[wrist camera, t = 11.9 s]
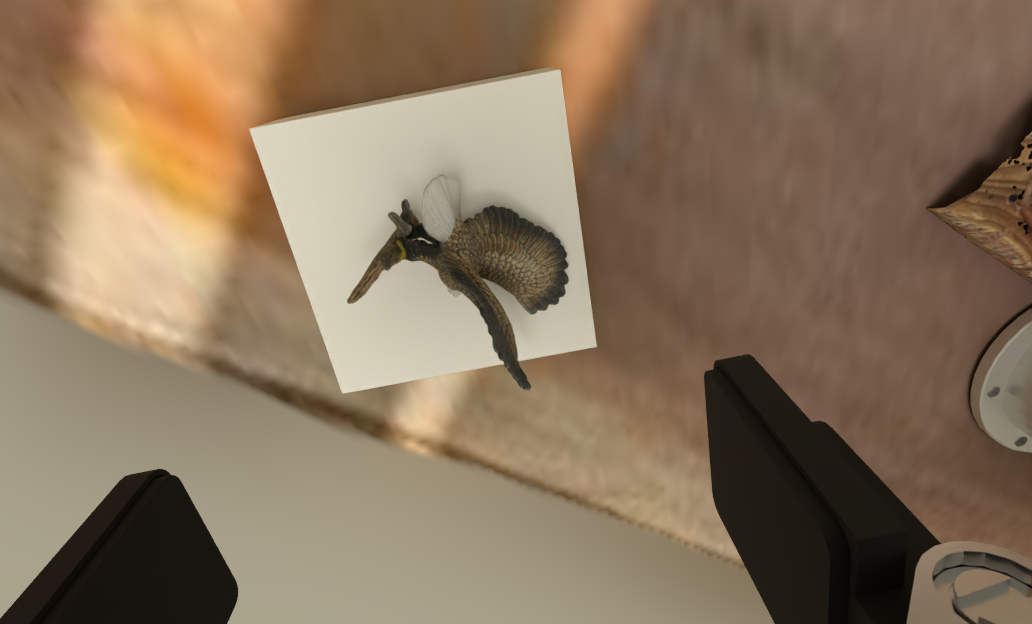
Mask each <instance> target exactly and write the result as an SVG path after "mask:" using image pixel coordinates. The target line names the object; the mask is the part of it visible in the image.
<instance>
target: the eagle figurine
mask: <svg viewBox="0 0 1032 624" xmlns="http://www.w3.org/2000/svg"><path fill="white" fill-rule="evenodd" d="M460 195H461V187H460V184H459V182H457V180H455V179H453V178H450V177H446V176H445V175H439V176H438V177H437V178H433V179H432V180H431V181H430V183H429V184H428V185H427V186H426V187H425V189H424V192H423V199H422V208H421V217H422V223H419V221H418V219H417V218H416V216H415V215H414V214H413V213H412V210H410V204H409V202H408V200H407V199H404V200H403V201H402V203H401V208H402V213H401V215H400V216H399V215H398V214H396V213H395V212H390V213H388V217H389V218H390V220H391V221H392V222H393V223H394V224H395V225H396V227H397V228H396V230H395V231H394V232H393V234H392V235H391V236H390V238H389V239H388V241H387V242H386V244H385V245H384V246H383V247H382V249H381V250H380V251H379V252H378V253H377V255H376V256H375V258H374V259H373V260H372V262H371V264H370V265H369V267H368V268H367V270H366V272H365V274H364V275H363V277H362V278H361V280H360V281H359V283H358V284H357V286H356V287H355V288H354V290H353V291H352V293H351V295H350V296H349V298H348V300H347V303H348V304H353V303H355V302H357V301H358V300H359V299H360V298H361V297H363V296H364V295H365V294H366V293H367V291H368V290H369V288H370V287H371V286H372V284H373V283H374V282H375V281H376V280H377V279H378V278H379V275H380V274H381V272H382V271H383V270H387V271H388V270H390V269H391V267H392V266H393V265H395V264H397V263H399V262H400V261H402V260H408V261H412V262H414V261H423V262H425V263H427V264H429V265H431V266H432V267H434V268H435V269H436V270H438V274H439V277H440V279H441V281H442V282H443V283H444V284H445V285H446V287H447V289H448V292H449V293H451V294H452V295H453V296H455V297H458V296H460V295H461V294H462V293H463V294H464V295H465V296H466V297H467V298H468V299H469V300H471V302H472V303H473V304H474V305H475V306H476V307H477V308H478V309H479V311H480V315H481V316H482V317H483V319H484V321H485V323H486V324H487V326H488V333H489V334H490V335H491V337H492V340H493V341H492V344H493V349H494V351H495V352H496V353H497V355H498V358H499V359H500V360H501V361H503V362H504V365H505V367H507V369H508V371H509V372H510V373H511V375H512V376H513V378H514V379H515V380H516V382H517V383H518V385H519V386H520V387H522V388H523V389H524V390H528V391H530V388H531V385H530V384H529V382H528V381H527V377H526V375H525V373H524V372H523V371H522V369H521V368H520V366H519V363H518V352H517V346H516V341H515V335H514V332H513V328H512V325H511V323H510V321H509V319H508V316H507V315H506V313H505V311H504V308H503V307H502V305H501V304H500V302H499V300H498V299H497V298H496V296H495V295H494V294H493V292H492V291H491V289H490V288H489V287H488V285H487V284H486V283H485V282H484V281H483V279H485V280H488V281H490V282H493V283H496V284H497V285H499V286H500V287H502V288H503V289H505V290H506V291H507V292H509V293H511V294H512V295H514V296H515V298H516V299H517V301H518V302H519V303H520V304H521V305H522V306H523V308H524V309H525V310H526V311H527V312H529V314H532V315H533V314H536V313H537V311H538V310H539V311H545V310H547V308H548V306H549V305H557V304H558V303H559V298H560V297H563V296H564V295H565V293H566V290H565V285H566V284H568V282H569V277H568V275H567V273H566V272H565V271H564V270H565V269H567V268H568V265H569V264H568V263H567V261H566V260H565V258H567V252H566V251H565V248H564V246H563V245H561V241H560V239H559V238H556V237H555V235H554V233H552V232H547V230H545V229H543V228H542V227H541V226H534V223H532V222H529V221H528V220H527V219H525V218H520V216H519V214H518V213H516V212H514V211H513V210H512V209H510V208H508V209H507V208H505V207H496V206H494V205H491V206H490V207H485V208H483V211H482V213H477V214H475V216H474V219H473V218H467V219H466V220H465V221H464V222H463V221H462V220H461V213H460ZM418 238H423V239H425V240H427V241H429V242H431V243H433V244H430V243H427V242H426V241H424V240H418ZM414 239H416V240H414Z"/></svg>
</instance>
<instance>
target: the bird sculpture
mask: <svg viewBox="0 0 1032 624" xmlns="http://www.w3.org/2000/svg"><path fill="white" fill-rule="evenodd" d="M1030 135H1032V132H1031V133H1030V134H1029V135H1027V136H1026V138H1025V139H1024V141H1023V142H1020V143H1021V144H1022V146H1025V148H1024V150H1023V151H1022V152H1021V155H1020V157H1019V158H1018V159H1013V160H1012V162H1011V164H1008V161H1009V159H1006V162H1005V161H1004V162H1003V163H1002V164H1001V165H1000V166H999V167H998V170H996V171H994V173H992V174H991V176H989V177H988V178H987V179H986V180H985V181H984V182H983V184H982V186H981V187H980V188H979V189H978V190H976V191H974V192H972V193H971V194H969V195H967V196H965V197H963V198H961V199H960V200H958V201H956V202H954V203H952V204H950V205H948V206H947V207H945V208H927V209H928V210H930V211H932V213H936V214H937V216H938V217H940V218H942V219H941V220H942V221H945V222H947V223H949V224H950V226H953V227H954V229H955V230H957V231H958V232H959V233H961V234H963V235H964V236H967V237H966V238H969V240H971V242H974V244H977V245H978V246H979V247H980V248H982V249H984V250H985V252H988V253H990V254H991V256H993V257H994V258H996V259H999V260H1000V261H1001V263H1004V264H1005V265H1007V266H1008V267H1012V269H1013V270H1015V271H1016V272H1017V273H1020V275H1022V276H1023V277H1024V278H1026V279H1028V280H1029V281H1031V282H1032V168H1031V170H1029V171H1027V169H1025V168H1026V167H1027V166H1032V165H1030V163H1032V159H1028V157H1029V154H1031V153H1030V152H1031V151H1032V147H1031V148H1027V145H1028V144H1032V137H1030ZM1010 159H1011V157H1010ZM1014 160H1016V161H1020V162H1019V164H1014ZM1024 162H1025V164H1024V165H1023V164H1022V163H1024ZM1014 185H1015V186H1016V189H1014V188H1013V186H1014ZM987 190H988V191H987ZM1023 190H1025V192H1024V194H1023V195H1022V196H1023V198H1022V199H1021V200H1019V199H1018V198H1017V197H1018V195H1020V194H1022V192H1023ZM986 191H987V192H986ZM985 192H986V193H985ZM990 196H991V197H990ZM988 197H989V198H988ZM1018 222H1023V224H1021V225H1018ZM1026 224H1028V228H1027V231H1029V233H1027V234H1025V233H1026V232H1027V231H1025V229H1023V226H1024V225H1026Z"/></svg>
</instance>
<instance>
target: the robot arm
mask: <svg viewBox="0 0 1032 624" xmlns="http://www.w3.org/2000/svg"><path fill="white" fill-rule="evenodd" d="M704 383H705V397H706V411H707V425H708V438H709V452H710V466H711V480H712V493H713V498H714V502H715V506H716V509H717V511H718V514H719V516H720V518H721V520H722V522H723V524H724V526H725V527H726V529H727V531H728V533H729V535H730V537H731V539H732V541H733V543H734V545H735V547H736V549H737V551H738V553H739V555H740V557H741V559H742V561H743V563H744V565H745V566H746V568H747V570H748V572H749V574H750V576H751V578H752V580H753V582H754V584H755V586H756V588H757V590H758V592H759V594H760V596H761V597H762V600H763V602H764V603H765V605H766V607H767V609H768V611H769V613H770V615H771V617H772V619H773V621H774V623H775V624H1032V559H1030V558H1028V557H1026V556H1024V555H1022V554H1019V553H1017V552H1014V551H1011V550H1008V549H1006V548H1003V547H1000V546H997V545H991V544H986V543H981V542H976V541H951V542H947V543H943V544H941V543H940V542H939V541H938V540H937V539H936V538H935V537H934V536H933V535H932V534H931V533H930V532H929V531H928V529H927V528H926V527H925V526H924V525H923V524H922V523H921V522H920V521H919V520H918V519H917V518H916V517H915V516H914V515H913V514H912V512H911V511H910V510H909V509H908V508H907V507H906V506H905V505H904V504H903V503H902V502H901V501H900V500H899V499H898V498H897V497H896V495H895V494H894V493H893V492H892V491H891V490H890V489H889V488H888V487H887V486H886V485H885V484H884V483H883V482H882V481H881V480H880V478H879V477H878V476H877V475H876V474H875V473H874V472H873V471H872V470H871V469H870V468H869V467H868V466H867V465H866V464H865V462H864V461H863V460H862V459H861V458H860V457H859V456H858V455H857V454H856V453H855V452H854V451H853V450H852V449H851V448H850V447H849V445H848V444H847V443H846V442H845V441H844V440H843V439H842V438H841V437H840V436H839V435H838V434H837V433H836V432H835V431H834V430H833V428H831V427H830V426H829V425H828V424H827V423H825V422H822V421H815V422H811V421H810V420H809V419H808V417H807V416H806V415H805V414H804V413H803V412H802V411H801V410H800V409H799V407H798V406H797V405H796V404H795V403H794V402H793V401H792V400H791V399H790V397H789V396H788V395H787V394H786V393H785V392H784V391H783V390H782V389H781V387H780V386H779V385H778V384H777V383H776V382H775V381H774V380H773V378H772V377H771V376H770V375H769V374H768V373H767V372H766V371H765V370H764V368H763V367H762V366H761V365H760V364H759V363H758V362H757V361H756V360H755V358H754V357H752V356H751V355H748V354H747V355H742V356H737V357H731V358H726V359H721V360H716V361H715V363H714V370H709V371H706V372H705V374H704ZM971 408H972V412H973V416H974V418H975V420H976V422H977V423H978V425H979V427H980V428H981V429H982V430H983V431H984V432H985V433H986V434H987V435H988V436H990V437H991V438H993V439H994V440H996V441H997V442H999V443H1000V444H1001V445H1003V446H1005V447H1007V448H1010V449H1012V450H1016V451H1022V452H1029V453H1032V308H1031V309H1029V310H1028V311H1026V312H1025V313H1023V314H1022V315H1020V316H1019V317H1018V318H1017V319H1016V320H1014V321H1013V322H1012V323H1011V324H1010V325H1009V326H1008V327H1006V328H1005V329H1004V330H1003V331H1002V333H1001V334H1000V335H999V336H998V337H997V338H996V339H995V341H994V342H993V343H992V344H991V345H990V347H989V348H988V350H987V352H986V353H985V355H984V356H983V358H982V359H981V361H980V364H979V366H978V368H977V370H976V373H975V375H974V379H973V383H972V387H971ZM237 597H238V587H237V583H236V580H235V578H234V577H233V575H232V573H231V571H230V569H229V567H228V566H227V564H226V562H225V560H224V558H223V557H222V555H221V553H220V551H219V549H218V547H217V546H216V544H215V542H214V540H213V538H212V537H211V535H210V533H209V531H208V530H207V528H206V526H205V524H204V522H203V520H202V518H201V517H200V515H199V513H198V511H197V509H196V508H195V506H194V504H193V502H192V500H191V499H190V497H189V495H188V493H187V491H186V489H185V488H184V486H183V484H182V482H181V481H180V479H179V478H178V477H176V476H174V475H170V474H169V472H167V471H166V470H163V469H157V470H152V471H147V472H142V473H136V474H131V475H128V476H125V477H124V478H123V479H122V480H120V481H119V482H118V484H117V485H116V486H115V487H114V488H113V489H112V490H111V492H110V493H109V494H108V495H107V496H106V497H105V498H104V500H103V501H102V502H101V503H100V504H99V505H98V507H97V508H96V509H95V510H94V511H93V512H92V513H91V515H90V516H89V517H88V518H87V519H86V520H85V522H84V523H83V524H82V525H81V526H80V527H79V528H78V530H77V531H76V532H75V533H74V534H73V536H72V537H71V538H70V539H69V540H68V541H67V542H66V544H65V545H64V546H63V547H62V548H61V549H60V550H59V552H58V553H57V554H56V555H55V556H54V557H53V558H52V560H51V561H50V562H49V563H48V564H47V566H46V567H45V568H44V569H43V570H42V571H41V572H40V573H39V575H38V576H37V577H36V578H35V579H34V580H33V582H32V583H31V584H30V585H29V586H28V587H27V588H26V590H25V591H24V592H23V593H22V594H21V595H20V597H19V598H18V599H17V600H16V601H15V602H14V603H13V605H12V606H11V607H10V608H9V609H8V610H7V612H6V613H5V614H4V615H3V616H2V617H1V618H0V624H227V622H228V620H229V618H230V616H231V614H232V611H233V609H234V607H235V605H236V602H237Z"/></svg>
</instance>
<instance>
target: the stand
mask: <svg viewBox="0 0 1032 624" xmlns="http://www.w3.org/2000/svg"><path fill="white" fill-rule="evenodd" d="M249 130H250V133H251V135H252V138H253V141H254V144H255V147H256V150H257V152H258V155H259V158H260V161H261V164H262V167H263V170H264V172H265V175H266V178H267V181H268V184H269V187H270V189H271V192H272V195H273V198H274V201H275V204H276V206H277V209H278V212H279V215H280V218H281V221H282V223H283V226H284V229H285V232H286V235H287V238H288V240H289V243H290V246H291V249H292V252H293V255H294V257H295V260H296V263H297V266H298V269H299V272H300V274H301V277H302V280H303V283H304V286H305V289H306V292H307V294H308V297H309V300H310V303H311V306H312V309H313V311H314V314H315V317H316V320H317V323H318V326H319V328H320V331H321V334H322V337H323V340H324V343H325V345H326V348H327V351H328V354H329V357H330V360H331V362H332V365H333V368H334V371H335V374H336V377H337V379H338V382H339V385H340V388H341V391H342V394H343V393H349V392H354V391H360V390H365V389H370V388H376V387H381V386H387V385H392V384H398V383H403V382H408V381H414V380H419V379H425V378H430V377H436V376H441V375H446V374H452V373H457V372H463V371H468V370H474V369H479V368H484V367H490V366H495V365H501V364H504V362H503V361H501V360H500V359H499V358H498V355H497V353H496V352H495V351H494V349H493V344H492V341H493V340H492V337H491V335H490V334H489V333H488V326H487V324H486V323H485V321H484V319H483V317H482V316H481V315H480V311H479V309H478V308H477V307H476V306H475V305H474V304H473V303H472V302H471V300H469V299H468V298H467V297H466V296H465V295H464V294H463V293H462V294H461V295H460V296H458V297H455V296H453V295H452V294H451V293H449V292H448V289H447V287H446V285H445V284H444V283H443V282H442V281H441V279H440V277H439V274H438V270H436V269H435V268H434V267H432V266H431V265H429V264H427V263H425V262H423V261H414V262H412V261H408V260H402V261H400V262H399V263H397V264H395V265H393V266H392V267H391V269H390V270H388V271H387V270H383V271H382V272H381V274H380V275H379V278H378V279H377V280H376V281H375V282H374V283H373V284H372V286H371V287H370V288H369V290H368V291H367V293H366V294H365V295H364V296H363V297H361V298H360V299H359V300H358V301H357V302H355V303H353V304H348V303H347V300H348V298H349V296H350V295H351V293H352V291H353V290H354V288H355V287H356V286H357V284H358V283H359V281H360V280H361V278H362V277H363V275H364V274H365V272H366V270H367V268H368V267H369V265H370V264H371V262H372V260H373V259H374V258H375V256H376V255H377V253H378V252H379V251H380V250H381V249H382V247H383V246H384V245H385V244H386V242H387V241H388V239H389V238H390V236H391V235H392V234H393V232H394V231H395V230H396V228H397V227H396V225H395V224H394V223H393V222H392V221H391V220H390V218H389V217H388V213H390V212H395V213H396V214H398V215H399V216H400V215H401V213H402V208H401V203H402V201H403V200H404V199H407V200H408V202H409V204H410V210H412V213H413V214H414V215H415V216H416V218H417V219H418V221H419V223H422V217H421V208H422V199H423V192H424V189H425V187H426V186H427V185H428V184H429V183H430V181H431V180H432V179H433V178H437V177H438V176H439V175H445V176H446V177H450V178H453V179H455V180H457V182H459V184H460V187H461V195H460V213H461V220H462V221H463V222H464V221H465V220H466V219H467V218H473V219H474V216H475V214H477V213H482V211H483V208H485V207H490V206H491V205H494V206H496V207H505V208H507V209H508V208H510V209H512V210H513V211H514V212H516V213H518V214H519V216H520V218H525V219H527V220H528V221H529V222H532V223H534V226H541V227H542V228H543V229H545V230H547V232H552V233H554V235H555V237H556V238H559V239H560V241H561V245H563V246H564V248H565V251H566V252H567V258H565V260H566V261H567V263H568V264H569V265H568V268H567V269H565V270H564V271H565V272H566V273H567V275H568V277H569V282H568V284H566V285H565V290H566V293H565V295H564V296H563V297H560V298H559V303H558V304H557V305H549V306H548V308H547V310H545V311H539V310H538V311H537V313H536V314H533V315H532V314H529V312H527V311H526V310H525V309H524V308H523V306H522V305H521V304H520V303H519V302H518V301H517V299H516V298H515V296H514V295H512V294H511V293H509V292H507V291H506V290H505V289H503V288H502V287H500V286H499V285H497V284H496V283H493V282H490V281H488V280H485V279H483V281H484V282H485V283H486V284H487V285H488V287H489V288H490V289H491V291H492V292H493V294H494V295H495V296H496V298H497V299H498V300H499V302H500V304H501V305H502V307H503V308H504V311H505V313H506V315H507V316H508V319H509V321H510V323H511V325H512V328H513V332H514V335H515V341H516V346H517V352H518V361H523V360H528V359H533V358H539V357H544V356H550V355H555V354H561V353H566V352H571V351H577V350H582V349H588V348H593V347H597V345H596V338H595V330H594V323H593V315H592V307H591V300H590V292H589V284H588V277H587V269H586V262H585V254H584V246H583V239H582V231H581V224H580V216H579V208H578V201H577V193H576V186H575V178H574V170H573V163H572V155H571V147H570V140H569V132H568V125H567V117H566V109H565V102H564V94H563V87H562V79H561V71H560V69H555V68H548V67H547V68H542V69H536V70H531V71H526V72H521V73H516V74H510V75H505V76H500V77H495V78H489V79H484V80H479V81H474V82H468V83H463V84H458V85H453V86H448V87H442V88H437V89H432V90H427V91H421V92H416V93H411V94H406V95H400V96H395V97H390V98H385V99H380V100H374V101H369V102H364V103H359V104H353V105H348V106H343V107H338V108H333V109H327V110H322V111H317V112H312V113H306V114H301V115H296V116H291V117H285V118H282V119H278V120H275V121H272V122H269V123H266V124H263V125H260V126H257V127H253V128H250V129H249ZM414 240H416V239H414ZM418 240H424V241H426V242H427V243H430V244H433V243H431V242H429V241H427V240H425V239H423V238H418Z"/></svg>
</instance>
